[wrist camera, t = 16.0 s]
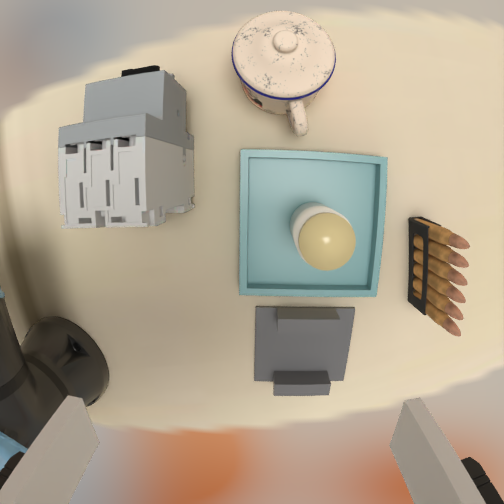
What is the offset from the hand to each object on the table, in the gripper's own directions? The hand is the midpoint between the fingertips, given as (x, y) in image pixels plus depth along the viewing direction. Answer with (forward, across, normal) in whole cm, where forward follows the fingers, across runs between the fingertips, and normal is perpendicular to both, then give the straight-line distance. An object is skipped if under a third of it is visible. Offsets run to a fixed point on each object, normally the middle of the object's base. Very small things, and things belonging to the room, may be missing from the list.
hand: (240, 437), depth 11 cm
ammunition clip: (+26, +20, 0) cm, 33 cm away
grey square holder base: (+27, +6, -11) cm, 30 cm away
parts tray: (+26, +7, +4) cm, 28 cm away
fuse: (+26, +7, +4) cm, 27 cm away
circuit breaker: (+27, -10, +13) cm, 32 cm away
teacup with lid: (+27, +4, +19) cm, 33 cm away
